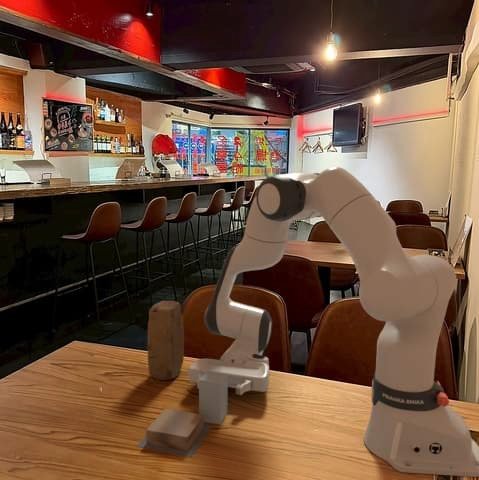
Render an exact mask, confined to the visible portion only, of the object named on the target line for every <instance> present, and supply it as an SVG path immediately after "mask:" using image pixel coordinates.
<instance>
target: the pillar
mask: <svg viewBox="0 0 479 480" xmlns="http://www.w3.org/2000/svg"><path fill="white" fill-rule="evenodd" d="M228 388H229V387H228V373H220V372H213V371H206V372H205V374H204V375H203V376H202V377H201V378H200V379H199V389H198V393H199V394H198V414H202V415H204V422H205V423H210V424H217V425H221V424H222V423H223V421H224V419H225V418H226V416H227V414H228V394H229V392H228Z"/></svg>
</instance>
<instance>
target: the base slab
mask: <svg viewBox="0 0 479 480" xmlns="http://www.w3.org/2000/svg"><path fill="white" fill-rule="evenodd" d="M204 424H205V423H204V415H202V414H199V413H197V412H196V413H195V412H188V411H184V410H183V411H182V410H178V409H177V410H176V409H171V408H164V410H162V412H160V414H159V415H158V416H157V417H156V418H155V419H154V421H153V422H152V423H151V424H150V425H149V426H148V427H147V429H146V430H145V433H146V435H145V436H146V442H147V444H151V445H157V446H162V447H167V448H173V449H178V450H183V451H188V450H189V449H190V447H191V446H192V444H193V443H194V441H195V440H196V438H197V437H198V435H199V434H200V432H201V431H202V429H203V428H204Z"/></svg>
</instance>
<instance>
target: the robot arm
mask: <svg viewBox="0 0 479 480" xmlns="http://www.w3.org/2000/svg"><path fill="white" fill-rule="evenodd" d="M321 217H322V218H323V220H324V222H325V223H326V224H327V225H328V227H329V228H330V230H331V231H332V232H333V233H334V235H335V236H336V238H337V239H338V240H339V242H340V243H341V245H342V246H343V247H344V249H345V250H346V252H347V253H348V255H349V257H350V258H351V260H352V262H353V265H354V267H355V269H356V272H357V274H358V277H359V287H358V298H359V301H360V304H361V306H362V308H363V309H364V311H365V312H366V313H367V314H368V315H369V316H370V317H372V318H373V319H375V320H377V321H380V322H385V324H384V327H383V328H382V330H381V331H380V333H379V336H378V338H377V341H376V358H375V359H376V360H375V361H376V362H375V364H376V365H375V372H374V374H373V376H372V380H371V381H372V382H371V402H372V405H371V411H370V417H369V419H368V424H367V427H366V429H365V432H364V434H363V442H364V445H365V446H366V448H367V449H368V450H369V451H370V452H372V453H373V454H374V455H376V456H377V457H379V458H380V459H383V460H384V461H386V462H387V463H388V464H390V465H391V466H392V468H393V469H394V470H396V471H397V472H400V473H410V474H411V473H412V474H424V475H425V474H427V475H440V476H455V477H469V478H470V477H472V478H473V477H474V478H478V477H479V445H478V444H477V442H476V441H475V440H474V439H472V436H471V431H470V428H469V426H468V425H467V422H466V421H465V420H464V418H463V417H462V416H461V414H459V413H458V412H456V410H454V409H453V408H452V407H450V406H449V403H450V400H449V397H448V395H447V394H446V393H445V391H444V388H443V387H442V386H441V383H440V382H439V380H436V381H435V379H434V378H435V368H436V358H437V357H436V356H437V355H436V354H437V348H438V342H439V338H440V333H441V331H442V327H443V324H444V320H445V318H446V313H447V310H448V309H447V308H448V305H449V301H450V299H451V297H452V295H453V293H454V291H455V289H456V287H457V274H456V272H455V269H454V268H453V266H452V265H451V264H450V263H449V262H448V261H447V260H445V258H442V257H439V256H436V255H431V254H417V255H413V256H409V255H408V254H407V253H406V252H405V250H404V248H403V246H402V244H401V243H400V240H399V238H398V234H397V225H396V223H395V221H394V219H392V217H391V215H389V213H387V211H386V210H385V209H384V207H382V205H381V203H379V201H378V200H377V199H376V198H375V197H374V195H373V194H372V193H371V192H370V191H369V190H368V189H367V188H366V187H365V186H364V184H363V183H362V182H360V180H358V179H357V178H356V177H355V176H354V175H353V174H352V173H350V172H349V171H347V169H345V168H343V167H338V166H332V167H328V168H327V169H324V170H322V171H321V172H320V173H319V172H315V173H314V172H313V173H309V172H291V173H290V172H289V173H283V174H281V173H278V174H273V175H271V176H269V177H266V178H265V179H263V180H262V181H261V182H260V183H259V185H258V187H257V191H256V196H255V197H254V199H253V201H252V204H251V206H250V209H249V212H248V215H247V220H246V224H245V229H244V234H243V238H242V240H241V241H240V242H239V244H238V245H235V246H233V247H231V249H230V250H229V252H228V253H227V256H226V257H225V259H224V263H223V265H222V267H221V270H220V273H219V276H218V280H217V281H216V284H215V288H214V291H213V294H212V297H211V300H210V302H209V304H208V306H207V308H206V311H205V313H204V319H203V320H204V321H203V323H204V324H205V326H206V327H207V330H208V331H209V332H210V334H214V335H219V336H225V337H228V338H231V339H235V340H234V341H233V342H232V343H231V345H230V346H229V348H227V350H226V351H225V352H224V353H223V354H222V355H221V357H220V358H219V359H213V358H200V359H197V360H196V361H194V362H193V363H192V364H190V365H189V367H188V368H187V378H188V380H189V381H190V382H191V383H196V384H197V387H196V388H197V389H198V390H199V379H200V378H201V377H202V376H203V375H204V374H205V372H206V371H213V372H220V373H228V388H233V389H235V394H236V395H239V396H242V395H243V394H244V393H246V392H250V391H254V392H262V393H264V392H266V391H267V390H268V389H269V387H270V361H269V358H268V357H267V356H263V353H264V350H265V349H266V348H268V344H269V343H270V340H271V337H272V335H273V334H272V333H273V327H274V326H273V320H272V317H271V315H270V313H269V312H268V311H267V310H266V309H262V308H260V307H255V306H253V305H248V304H244V303H241V302H237V301H234V300H232V299H231V298H230V295H231V292H232V290H233V286H234V283H235V281H236V278H237V277H238V276H237V275H239V274H241V273H244V272H250V271H259V270H260V271H261V270H265V269H268V268H271V267H274V266H275V265H276V264H278V263H279V262H280V261H281V260H282V258H283V256H284V254H285V251H286V248H287V245H288V238H289V231H290V227H291V224H292V222H293V221H305V220H310V219H314V218H321Z"/></svg>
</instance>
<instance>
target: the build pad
mask: <svg viewBox="0 0 479 480" xmlns="http://www.w3.org/2000/svg"><path fill="white" fill-rule="evenodd" d="M212 427H213V424H209V423H204V428H203V429H202V431H201V432H200V434H199V435H198V437H197V438H196V440H195V441H194V443H193V444H192V446H191V447H190V449H189V450H188V451H183V450H178V449H173V448H167V447H162V446H157V445H151V444H147V442H146V435H145V436H144V437H143V438H142V439H141V440H140V442H139V443H137V444H136V448H142V449H147V450H153V451H157V452H162V453H168V454H172V455H178V456H184V457H189V458H192V457H193V456H194V455H195V453H196V451H197V450H198V449H199V447H200V446H201V444H202V443H203V441H204V440H205V438H206V436H207V435H208V433H209V432H210V430H211V429H212Z"/></svg>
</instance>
